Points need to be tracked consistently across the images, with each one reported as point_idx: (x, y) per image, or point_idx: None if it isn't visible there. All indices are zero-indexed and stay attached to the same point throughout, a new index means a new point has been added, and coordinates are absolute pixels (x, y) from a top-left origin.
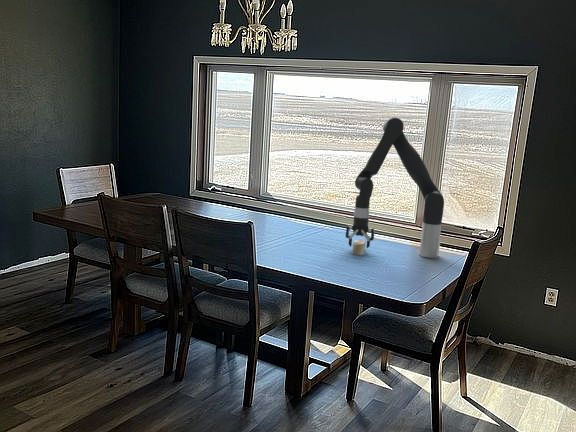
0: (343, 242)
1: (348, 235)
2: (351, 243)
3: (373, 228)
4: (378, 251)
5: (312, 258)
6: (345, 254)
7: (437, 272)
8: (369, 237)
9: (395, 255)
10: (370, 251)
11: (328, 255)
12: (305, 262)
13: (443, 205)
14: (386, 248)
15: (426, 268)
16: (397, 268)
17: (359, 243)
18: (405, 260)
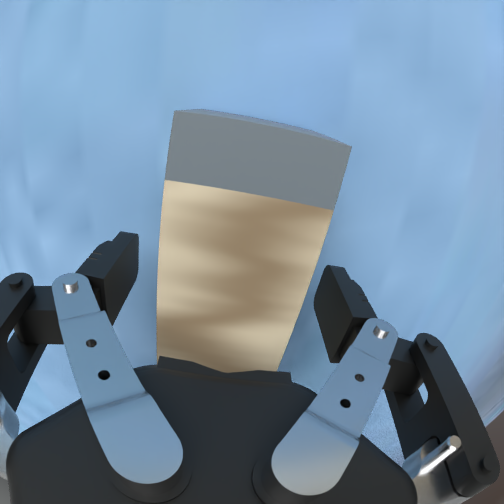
0: None
1: (37, 330)
2: (128, 274)
3: (477, 490)
4: (432, 183)
5: (26, 393)
6: (128, 334)
7: (486, 411)
8: (393, 348)
9: (495, 269)
10: (361, 197)
11: (50, 359)
12: (36, 422)
13: None
14: (500, 80)
15: (485, 396)
16: (388, 438)
17: (227, 358)
18: (486, 343)
